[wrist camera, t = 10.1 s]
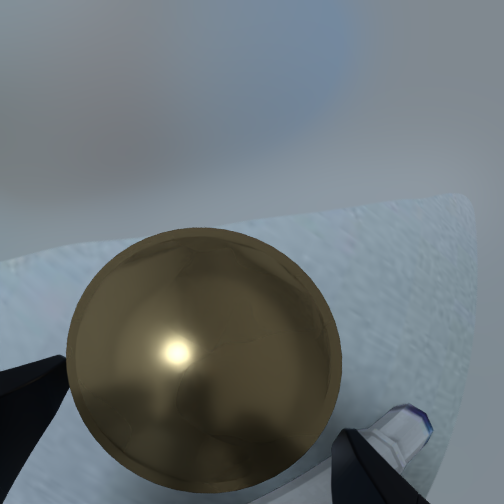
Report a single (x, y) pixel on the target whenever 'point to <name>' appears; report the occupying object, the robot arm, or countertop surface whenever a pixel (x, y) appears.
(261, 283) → the brass domed cylinder
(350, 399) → the countertop surface
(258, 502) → the white long piece
